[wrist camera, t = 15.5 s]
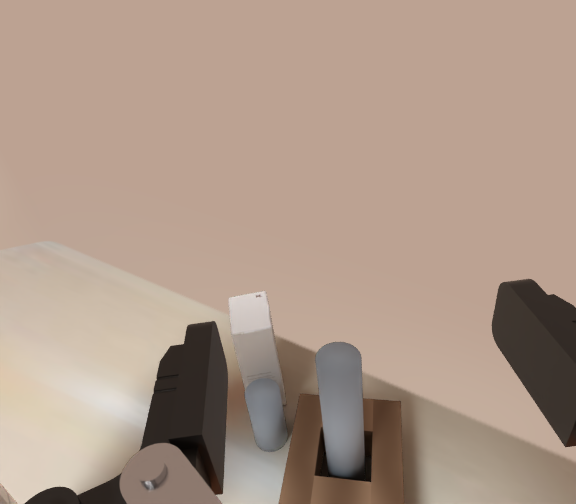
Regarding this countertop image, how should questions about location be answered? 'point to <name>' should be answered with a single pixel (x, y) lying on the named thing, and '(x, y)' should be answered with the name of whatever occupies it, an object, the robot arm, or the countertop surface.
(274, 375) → the skincare box
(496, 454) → the countertop surface
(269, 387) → the short pin
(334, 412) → the long pin
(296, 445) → the socket block
